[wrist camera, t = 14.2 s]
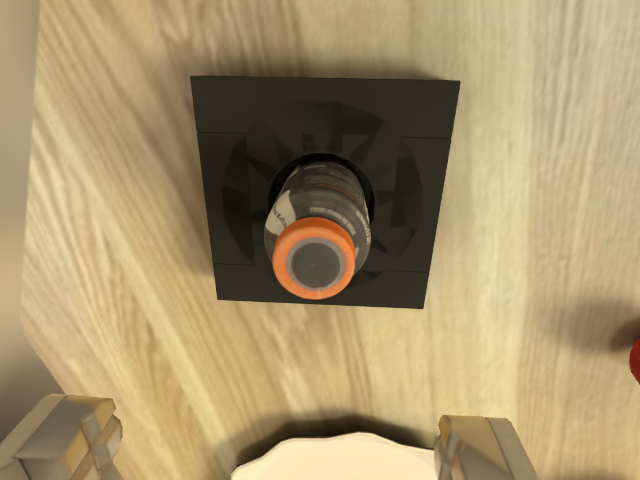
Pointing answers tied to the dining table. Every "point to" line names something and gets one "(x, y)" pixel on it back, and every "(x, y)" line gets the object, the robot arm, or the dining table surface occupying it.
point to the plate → (340, 459)
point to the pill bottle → (318, 228)
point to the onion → (635, 360)
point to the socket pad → (330, 138)
